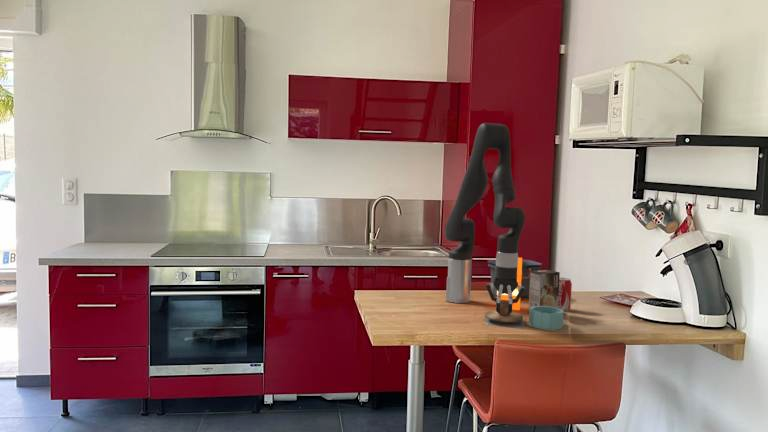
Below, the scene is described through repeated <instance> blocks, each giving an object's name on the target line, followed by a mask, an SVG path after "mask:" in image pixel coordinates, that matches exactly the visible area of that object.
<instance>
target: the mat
mask: <svg viewBox="0 0 768 432" xmlns="http://www.w3.org/2000/svg"><path fill="white" fill-rule="evenodd" d="M483 321H484V322H485V321H486V322H487V323H488V325H487V326H490V325H491V326H492V327H503V328H504V327H505V328H515V329H525V325H526V318H524V317H523V320H521V321H518V322H500V321H494V320H491V319H488V318H486V317H485V316H484V319H483ZM486 322H485V323H486Z"/></svg>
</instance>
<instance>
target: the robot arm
mask: <svg viewBox="0 0 768 432" xmlns="http://www.w3.org/2000/svg"><path fill="white" fill-rule="evenodd" d="M510 134H511V133H510V130H509V128H508V126H507V125H506V124H501V123H493V122H483V123H481V124H480V125H479V126H478V128H477V130H476V133H475V137H474V141H473V147H472V150H471V155H470V158H469V160H468V161H469V162H468V165H467V168H466V170H465V173H464V176H463V179H462V181H461V185H460V189H459V191H458V195H457V197H456V201H455V202H454V206H453V208H452V210H451V212H450V214H449V216H448V219H447V221H446V224H445V228H444V235H445V238H446V240H447V241H449V242H454V243H455V242H457V243H459V244H458V245H457V246H455V247H454V248H452V249H450V250H449V252H448V261H447V277H446V290H445V292H446V293H445V295H446V296H445V301H446V302H450V303H453V302H454V303H453V304H465V303H467V304H468V303H470V302H471V292H472V290H471V289H472V288H471V287H472V262H473V261H472V260H473V253H474V249H475V237H476V226H475V221H473V219H471V218H468V217H466V215H467V213H468V212H470V210H471V209H473V208H474V207H475V206H476V205H477V204H478V203H479V202H480V200H482V198H483V197H484V195H485V193H486V189H487V187H488V183H489V176H488V172H487V169H486V166H485V160H484V159H485V154H486V151H487V150H497V152H498V156H499V157H498V161H497V162H498V163H497V165H496V168H495V170H494V172H493V175H492V188H493V193H494V209H493V217H492V218H493V222H494V224H495V225H496V226H497V227H498V228H502V229H507V228H508V229H509V231H508V232H506V233H503V234H500V235H499V236H498V237H497V242H496V243H497V245H496V246H497V247H496V248H497V249H496V255H495V260H496V268H495V280H494V282H493V283H491V282H489V283H487V284H486V285H485V287H486V290H487V292H488V295H489V297H490V300H491V301H493V302H495V305H496V306H495V310H496V311H497V312H498V314H500V300H501V295H502V294H504V293H505V294H508V298H509V304H508V315H510V313H512V312H513V310H512V305H513V303H517V302H518V301H519V299H520V300H521V298H522V297H521V295H522V294H523V292H524V290H525V287H524V286H520V285H518V282H517V269H518V258H519V254H518V253H519V241H520V238H521V234H522V231H523V228H524V225H525V221H526V216H525V212H524V210H523V209H522V208H520V207H511V206H510V207H509V206H507V207H506V204H509V203H512V202H514V201H515V200H516V192H515V191H516V190H515V186H514V181H513V174H512V154H511V153H512V152H511V151H512V150H511V149H512V147H511V135H510ZM493 286H495V288H496V289H497V291H498V296H496V295H494V293H493V290H492V289H493ZM516 288H518V292H519V293H518V294H517V296H516V298H515V299H513V297H512V292H513V291H514V290H515V289H516Z"/></svg>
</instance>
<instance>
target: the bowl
mask: <svg viewBox="0 0 768 432" xmlns="http://www.w3.org/2000/svg"><path fill="white" fill-rule="evenodd" d="M528 312H529V311H528ZM564 312H565V311H563V310H562V309H560V308H556V307H551V306H533V307H530V312H529V314H528V315H529V316H528V325H529V326H531V327H532V328H535V329H539V330H548V331H550V330H551V331H552V330H553V331H554V330H556V331H557V330H560V329H563V326H564Z"/></svg>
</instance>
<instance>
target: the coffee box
mask: <svg viewBox="0 0 768 432" xmlns="http://www.w3.org/2000/svg"><path fill="white" fill-rule="evenodd" d="M560 274H561V273H560V271H556V270H550V269H539V270H538V271H530V290H529V297H528V312H530V307H533V306H551V307H556V308H558V301H559V278H561V277H560Z"/></svg>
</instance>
